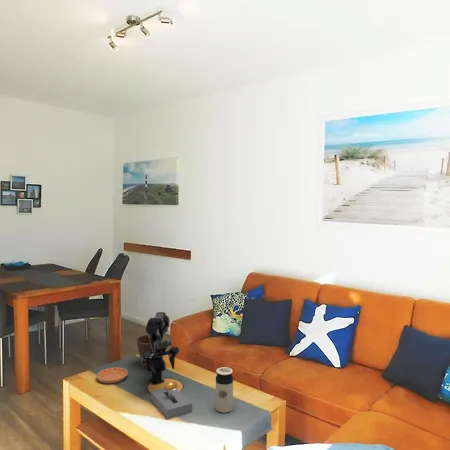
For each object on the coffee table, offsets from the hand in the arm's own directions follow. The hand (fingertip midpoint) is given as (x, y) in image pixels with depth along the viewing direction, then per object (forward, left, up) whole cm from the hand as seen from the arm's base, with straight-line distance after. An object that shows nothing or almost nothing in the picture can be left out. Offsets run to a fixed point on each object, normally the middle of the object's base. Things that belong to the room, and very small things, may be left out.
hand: (165, 371), depth 191 cm
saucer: (-34, -15, -14) cm, 40 cm away
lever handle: (+8, 0, -12) cm, 14 cm away
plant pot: (-39, +8, -14) cm, 43 cm away
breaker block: (+8, 0, -13) cm, 15 cm away
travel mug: (+23, +20, -14) cm, 33 cm away
